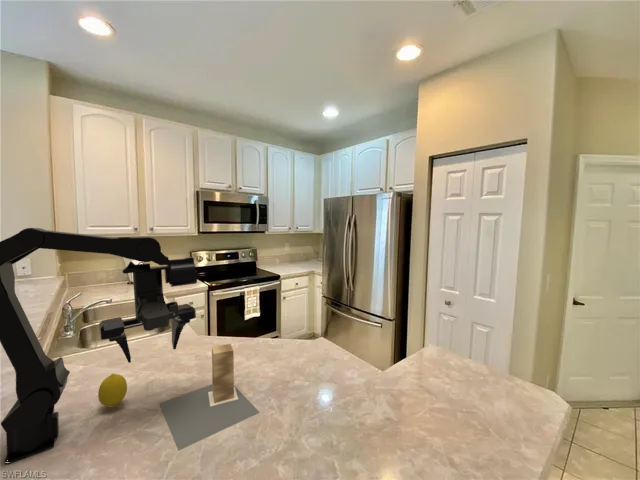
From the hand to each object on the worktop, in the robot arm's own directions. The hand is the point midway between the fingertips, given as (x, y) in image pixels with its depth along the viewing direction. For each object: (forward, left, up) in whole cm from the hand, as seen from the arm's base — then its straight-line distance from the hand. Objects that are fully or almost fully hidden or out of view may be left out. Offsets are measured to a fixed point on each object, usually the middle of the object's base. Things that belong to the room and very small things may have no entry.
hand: (152, 355), depth 65 cm
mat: (+10, -9, -13) cm, 18 cm away
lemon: (-7, +7, -13) cm, 17 cm away
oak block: (+14, -6, -12) cm, 20 cm away
